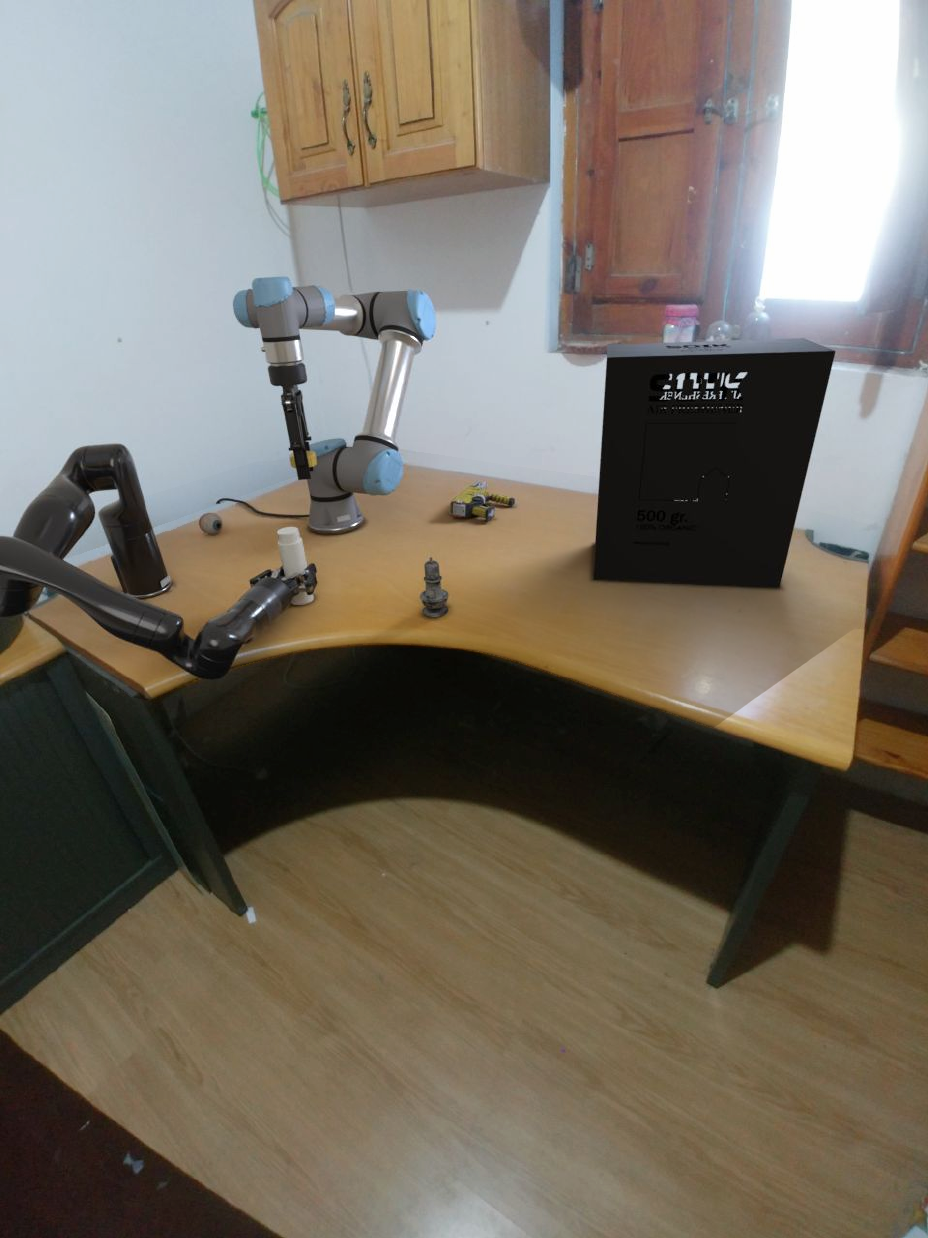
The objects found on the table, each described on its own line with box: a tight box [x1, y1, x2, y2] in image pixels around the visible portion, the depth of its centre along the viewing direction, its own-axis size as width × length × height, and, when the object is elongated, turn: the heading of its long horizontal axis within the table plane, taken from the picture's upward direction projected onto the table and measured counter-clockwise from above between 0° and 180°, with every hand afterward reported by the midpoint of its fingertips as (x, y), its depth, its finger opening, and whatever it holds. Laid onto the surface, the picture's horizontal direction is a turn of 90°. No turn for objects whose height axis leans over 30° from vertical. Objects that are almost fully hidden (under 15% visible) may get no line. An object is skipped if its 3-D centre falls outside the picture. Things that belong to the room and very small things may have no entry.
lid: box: [289, 451, 317, 469], centre depth 133 cm, size 6×6×2 cm
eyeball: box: [198, 512, 223, 536], centre depth 167 cm, size 6×6×6 cm
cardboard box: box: [592, 337, 836, 589], centre depth 125 cm, size 38×20×45 cm, turn 78°
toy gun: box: [449, 480, 516, 522], centre depth 174 cm, size 5×24×15 cm
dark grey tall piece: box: [419, 556, 450, 618], centre depth 120 cm, size 6×6×12 cm
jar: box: [276, 526, 315, 606], centre depth 127 cm, size 5×5×16 cm
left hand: (301, 566), depth 130 cm, fingers closed on jar, 5 cm apart
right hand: (306, 474), depth 135 cm, fingers closed on lid, 5 cm apart
